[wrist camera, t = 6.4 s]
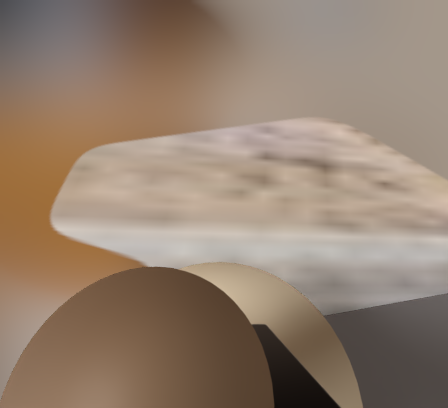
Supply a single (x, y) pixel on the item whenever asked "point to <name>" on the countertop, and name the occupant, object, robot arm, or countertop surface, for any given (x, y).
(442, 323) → the mat
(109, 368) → the disc with tall peg
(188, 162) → the countertop surface
